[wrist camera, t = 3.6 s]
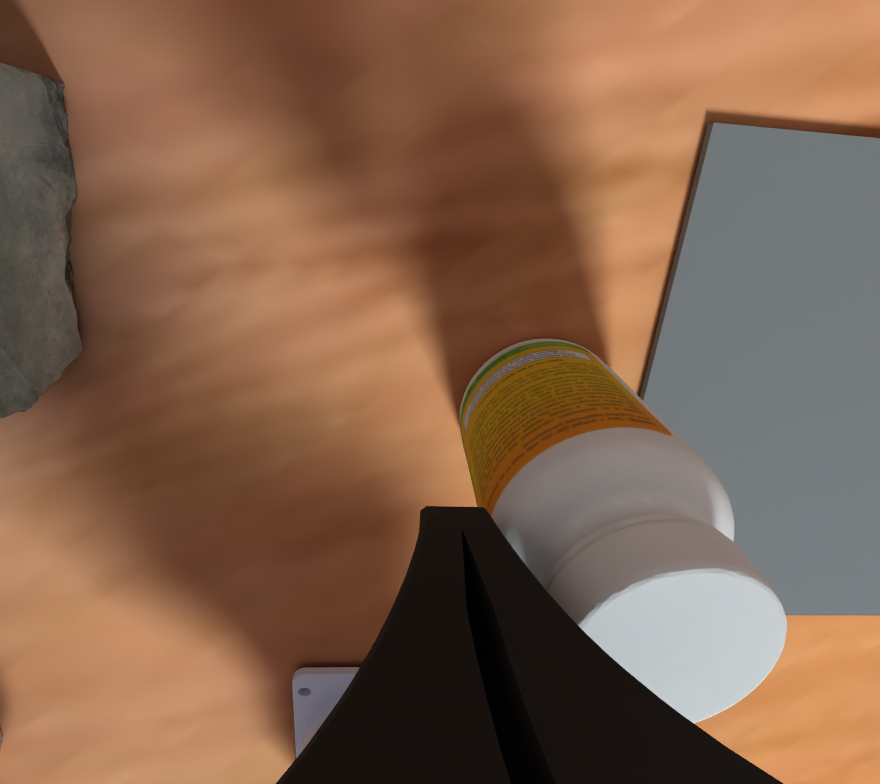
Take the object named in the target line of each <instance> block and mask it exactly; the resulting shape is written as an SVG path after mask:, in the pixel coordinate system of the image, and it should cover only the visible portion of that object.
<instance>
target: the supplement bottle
mask: <svg viewBox="0 0 880 784" xmlns="http://www.w3.org/2000/svg"><path fill="white" fill-rule="evenodd" d="M459 421H460V431H461V436H462V442H463V447H464V451H465V454H466V458H467V462H468V467H469V471H470V475H471V480H472V485H473V489H474V493H475V497H476V502H477V506H478V507H484V508H485V509H486V510H487V511H488V512H489V514H490V515H491V517H492V518H493V520H494V521H495V523H496V524H497V526H498V527H499V529H500V530H501V532H502V533H503V535H504V536H505V537H506V539H507V540H508V542H509V543H510V544H511V546H512V547H513V549H514V550H515V551H516V553H517V554H518V555H519V557H520V558H521V559H522V561H523V562H524V563H525V564H526V566H527V567H528V568H529V569H530V571H531V572H532V573H533V575H534V576H535V577H536V578H537V580H538V581H539V582H540V583H541V584H542V586H543V587H544V588H545V589H546V590H547V592H548V593H549V594H550V595H551V596H552V597H553V599H554V600H555V601H556V602H557V603H558V604H559V605H560V606H561V607H562V609H563V610H564V611H565V612H566V613H567V614H568V615H569V616H570V617H571V618H572V619H573V621H574V622H575V623H576V624H577V625H578V626H579V627H580V628H581V629H582V630H583V631H584V632H585V633H586V634H587V635H588V636H589V637H590V638H591V639H592V640H593V641H594V642H595V643H596V644H598V645H599V646H600V647H601V648H602V649H603V650H604V651H605V652H606V653H607V654H608V655H609V656H610V657H611V658H613V659H614V660H615V661H616V662H617V663H618V664H619V665H620V666H622V667H623V668H624V669H625V670H626V671H628V672H629V673H630V674H631V675H632V676H634V677H635V678H636V679H637V680H638V681H640V682H641V683H642V684H643V685H645V686H646V687H647V688H648V689H649V690H651V691H652V692H653V693H654V694H655V695H657V696H658V697H659V698H660V699H662V700H663V701H664V702H666V703H667V704H668V705H669V706H671V707H672V708H673V709H675V710H676V711H677V712H679V713H680V714H681V715H683V716H684V717H685V718H687V719H688V720H689V721H691V722H692V723H696V722H699V721H701V720H704V719H707V718H709V717H711V716H713V715H716V714H718V713H720V712H722V711H724V710H726V709H727V708H729V707H731V706H733V705H734V704H736V703H737V702H739V701H740V700H742V699H743V698H744V697H746V696H747V695H748V694H749V693H751V692H752V691H753V690H754V689H755V688H756V687H757V686H758V685H759V684H760V683H761V682H762V681H763V680H764V679H765V678H766V676H767V675H768V674H769V673H770V671H771V670H772V669H773V667H774V665H775V664H776V662H777V660H778V659H779V657H780V655H781V653H782V650H783V647H784V644H785V639H786V632H787V622H786V615H785V612H784V609H783V606H782V603H781V601H780V599H779V597H778V595H777V594H776V593H775V591H774V590H773V588H772V587H771V586H770V585H769V583H768V582H767V581H766V580H765V579H764V578H763V576H762V575H761V574H760V573H759V572H758V571H757V569H756V568H755V567H754V566H753V565H752V563H751V562H750V561H749V560H748V558H747V557H746V555H745V554H744V553H743V551H742V550H741V549H740V548H739V547H738V546H737V545H736V544H735V543H734V542H733V541H734V517H733V511H732V507H731V503H730V500H729V498H728V495H727V493H726V491H725V489H724V487H723V485H722V483H721V482H720V480H719V479H718V477H717V476H716V474H715V473H714V472H713V470H712V469H711V468H710V467H709V466H708V465H707V463H706V462H705V461H704V460H703V459H702V458H701V457H700V456H699V455H698V454H697V453H696V452H695V451H694V450H693V449H692V448H691V447H690V446H689V445H688V444H687V443H686V442H685V441H684V440H683V439H682V438H681V437H680V436H679V435H678V434H677V433H676V432H675V431H674V430H673V429H672V428H671V427H669V426H668V425H667V424H666V423H665V422H664V421H663V420H662V419H661V418H660V417H659V416H658V415H657V414H656V413H655V412H654V411H653V410H652V409H651V408H650V407H649V406H648V405H647V404H646V403H645V402H644V401H643V400H642V399H641V398H640V397H639V396H638V395H637V394H636V393H635V392H634V391H633V390H632V389H631V388H630V387H629V386H628V385H627V384H626V383H625V382H624V381H623V380H622V379H621V378H619V377H618V376H617V375H616V374H615V373H614V372H613V371H612V370H611V369H610V368H609V367H608V366H607V365H606V364H605V363H604V362H603V361H602V360H601V359H600V358H599V357H597V356H596V355H595V354H593V353H592V352H591V351H589V350H588V349H586V348H584V347H582V346H580V345H578V344H575V343H572V342H568V341H564V340H559V339H547V338H545V339H532V340H527V341H523V342H519V343H516V344H514V345H511V346H509V347H507V348H505V349H503V350H502V351H500V352H498V353H497V354H495V355H494V356H493V357H491V358H490V359H489V360H488V361H487V362H485V363H484V364H483V365H482V366H481V367H480V368H479V370H478V371H477V372H476V373H475V375H474V376H473V377H472V379H471V380H470V382H469V384H468V386H467V388H466V390H465V393H464V396H463V399H462V403H461V407H460V416H459Z"/></svg>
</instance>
